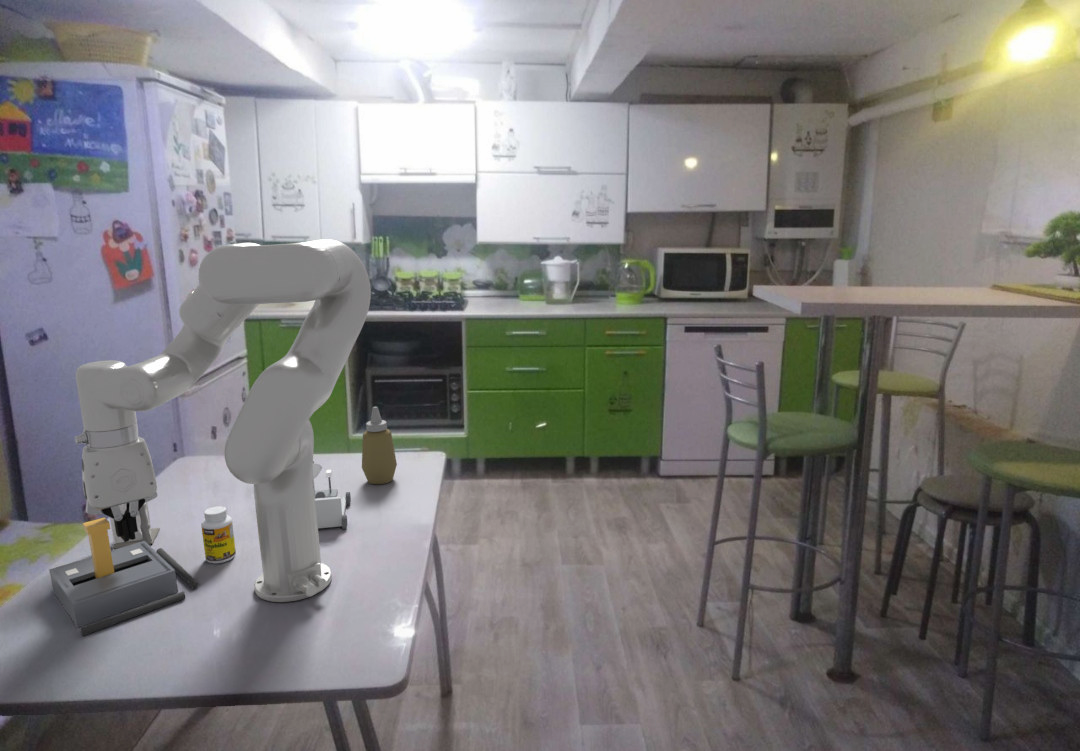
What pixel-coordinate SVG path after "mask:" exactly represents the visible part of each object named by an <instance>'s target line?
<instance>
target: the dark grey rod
mask: <svg viewBox="0 0 1080 751" xmlns="http://www.w3.org/2000/svg"><path fill="white" fill-rule="evenodd" d="M155 551H156V552H157V553H158V554H159V555H160V556H161V557H162V558H163V559H164V560H165V561H166V562H167V563H168V564H169V565H170V566H171V567H172V568H173V569H174V570H175V573H176V575H178V576H180V578H182V580H184V582H185V583H186V584H188V585H189V586H190V587H191V588H192V589H197V588H198V587H199V582H198V581H197V580H196V579H195V578H194V577H193V576H192V575H191V574H190V573H189V572H187V571H186V569H184V568H183V567H182V565H180V564H179V563H178V562H177V561H176V560H175V559H174V558H173V557H172V556H170V555H169V554H168V552H166V551H165V549H163V548H162V547H159V548H157V549H156V550H155Z"/></svg>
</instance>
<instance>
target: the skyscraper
mask: <svg viewBox="0 0 1080 751" xmlns="http://www.w3.org/2000/svg"><path fill="white" fill-rule="evenodd" d="M135 415H136V416H137V411H135ZM137 420H138V419H137V418H136V422H137V423H138V421H137ZM137 429H138V430H139V428H138V426H137ZM148 506H149V505H148V502H146V503H144V505H143V506H142V507H141V509H140V510H139V511H138V514H137V516H136V522H137V528H138V532H135V539H134V540H129V541H127V542H125V541H124V540H123V539H122V538H121V537H118V536H117V535H116V530H115V524H114V519H113V518H111V517H109V519H110V528H111V532H112V538H113V545H112V547H111V551H112V550H113V549H114V550H115V549H119V548H122V547H125V546H129V545H132V544H135V543H139V542H142V541H145V542H146V543H147V544H148V545H149V546H152V545H153V544H154V543H155V540H156V538H157V537H158V534H159V532H160V531H161V528H160V527H155V528H152V527H151V520H150V511H149V507H148ZM119 507H120V510H121V513H122V514H123V515H124V513H125V510H126V503H125V504H121V505H119ZM151 544H152V545H151Z"/></svg>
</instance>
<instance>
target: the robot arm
mask: <svg viewBox="0 0 1080 751" xmlns="http://www.w3.org/2000/svg"><path fill="white" fill-rule="evenodd" d="M198 282H199V284H198V286H196V288H194V290H193V291H192V292H191V293H190V294H189V296H188V297H187V298H186V299H185V300H184V301H183V302H182V304H181V305H180V307H179V310H178V311H179V312H178V313H179V317H180V320H181V321H182V323H183V326H182V327H181V329H180V330H179V332H178V334H177V335H176V336H175V337H174V338H173V339H172V341H171V342H170V343H169V344H168V345H167V346H166V348H165V349H163V351H161V353H159V354H158V355H156V356H154V357H150V358H148V359H145V360H142V361H141V362H138V363H134V364H131V365H127V364H126V362H123V361H120V360H115V359H114V360H110V359H109V360H98V361H93V362H91V361H90V362H88V363H84V364H82V365H80V366H79V367H77V369H76V371H75V383H76V388H77V393H78V394H77V395H78V401H79V406H80V407H79V408H80V411H81V418H82V424H83V429H82V432H81V433H80V434H78V435H74V441H75V443H76V445H79V444H82V445H83V444H84V445H85V446H83V448H82V453H81V477H82V479H81V480H82V489H83V494H84V499H85V501H86V502H85V512H86V514H87V515H90V516H95V515H98V516H99V515H105V516H107V517H109V518H110V517H111V518H113V519H114V524H115V530H116V535H117V536H118V537H121V538H122V539H123V540H124V541H125V542H127V541H129V540H134V539H135V532H138V528H137V522H136V516H137V514H138V511H139V510H140V509H141V507H142V506H143V505H144V503H146V502H147V503H148V502H150V501H153V500H155V499H156V498H157V497H158V492H157V490H158V485H157V478H156V474H155V473H156V472H155V469H154V466H153V461H152V456H151V453H150V451H149V447H148V444H147V442H146V439H145V438H144V437H141V436H139V428H138V429H137V427H138V421H137V422H136V419H137V414H136V415H135V412H148V411H152V410H155V409H156V408H158V407H160V406H162V405H164V404H166V403H167V402H169V401H171V400H174V399H175V398H177V397H179V396H182V395H184V394H185V393H186V392H187V391H189V389H191V388H192V387H193V386H194V385H195V384H196V383H197V381H199V379H201V378H202V376H203V375H204V374H205V373H206V372H207V370H208V369H210V367H211V366H213V363H214V362H215V361H216V360H217V359H218V358H219V356H220V354H221V352H222V351H223V349H224V348H225V346H226V344H227V341H228V340H229V338H230V337H231V336H233V334H234V333H235V331H237V329H238V328H239V327H240V326H241V324H243V322H244V321H245V320H246V319H247V318H248V317H249V316H250V315H251V314H252V313H253V312H254V310H255V309H256V308H257V307H258V306H259V305H264V304H267V305H268V304H286V303H287V304H288V303H304V302H305V303H307V302H312V301H314V303H313V306H312V307H311V309H310V311H309V312H308V313H307V316H306V317H305V318H304V321H303V322H302V323H301V326H300V329H299V331H298V333H297V335H296V338H295V339H294V341H293V343H292V344H291V347H290V348H289V350H288V351H287V353H286V354H285V355H284V356H283V357H282V358H281V359H279V360H277V361H276V362H274V363H272V364H271V365H269V366H267V367H266V368H265V369H264V370H263V371H262V372H261V373H260V374H259V375H258V377H257V379H255V381H254V383H253V385H252V386H251V388H250V390H249V391H248V394H247V396H246V398H245V400H244V401H243V404H242V406H241V408H240V410H239V412H238V414H237V417H236V419H235V421H234V423H233V426H232V427H231V429H230V431H229V433H228V435H227V439H226V442H225V444H224V452H223V453H224V461H225V464H226V467H227V469H228V470H229V472H230V473H231V474H232V476H234V477H235V478H236V479H237V480H238V481H240V482H243V483H245V484H250V485H253V496H254V505H255V516H256V523H257V525H256V526H257V533H258V540H259V541H258V542H259V550H260V551H259V552H260V559H261V560H260V561H261V568H262V573H261V574H260V575H259V576H258V577H257V578H256V580H255V582H254V584H253V586H254V592H255V595H256V596H257V597H259V598H260V599H261V600H265V601H267V602H272V603H288V602H289V603H290V602H295V601H300V600H304V599H307V598H310V597H313V596H314V595H317V594H318V593H320V592H322V591H323V590H324V589H326V588H327V587H328V586H329V585H330V583H331V581H332V570H331V568H330V567H329V566H328V565H326V564H325V563H323V562H322V559H321V549H320V536H319V528H318V525H317V514H316V503H315V491H316V490H315V491H314V488H315V480H314V479H315V478H314V479H313V461H314V446H315V441H314V440H315V438H314V437H315V436H314V430H313V426H312V423H311V421H310V418H311V417H312V415H313V414H314V413H315V412H317V410H319V408H321V407H323V405H324V404H325V403H326V402H327V401H328V400H329V398H330V397H331V395H332V392H334V388H335V385H336V384H337V381H338V379H339V377H340V375H341V373H342V372H343V370H344V366H345V364H346V363H347V361H348V359H349V356H350V355H351V352H352V350H353V347H354V346H355V344H356V341H357V339H358V337H359V335H360V333H361V331H362V330H363V327H364V324H365V322H366V319H367V316H368V313H369V309H370V304H371V298H372V296H371V293H372V290H371V283H370V282H371V281H370V278H369V274H368V271H367V270H366V267H365V265H364V263H363V262H362V260H361V259H360V257H359V255H357V253H356V252H355V251H354V250H353V249H352V248H350V247H349V246H348V245H347V244H345V243H343V242H341V241H339V240H335V239H328V238H326V239H315V240H309V241H303V242H302V241H301V242H295V243H294V242H292V243H279V244H278V243H277V244H258V243H256V242H255V243H254V242H239V243H238V242H237V243H231V244H225V245H224V244H223V245H219V246H217V247H215V248H213V249H212V250H210V251H209V252H208V253H207V254H206V255H204V257H203V258H202V261H201V263H200V265H199V267H198ZM125 503H126V510H125V513H124V515H123V514H122V513H121V510H120V507H119V505H121V504H125Z"/></svg>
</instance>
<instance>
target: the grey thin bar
mask: <svg viewBox="0 0 1080 751" xmlns="http://www.w3.org/2000/svg"><path fill="white" fill-rule="evenodd" d="M184 599H186V594H185V591H180V592H176V593H173V594H170V595H168V596H165V597H162V598H159V599H156V600H154V601H151V602H148V603H145V604H142V605H140V606H137V607H134V608H131V609H128V610H126V611H123V612H120V613H117V614H114V615H112V616H109V617H106V618H105V619H104V618H103V619H100V620H98V621H95V622H92V623H89V624H86V625H84V626H81V627H79V628H80V634H81V636H85V635H88V634H90V633H93V632H96V631H99V630H102V629H104V628H107V627H110V626H113V625H115V624H116V625H117V624H119V623H121V622H124V621H127V620H130V619H132V618H135V617H137V616H141V615H143V614H146V613H149V612H151V611H154V610H156V609H159V608H162V607H165V606H168V605H171V604H174V603H176V602H179V601H181V600H184Z"/></svg>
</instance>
